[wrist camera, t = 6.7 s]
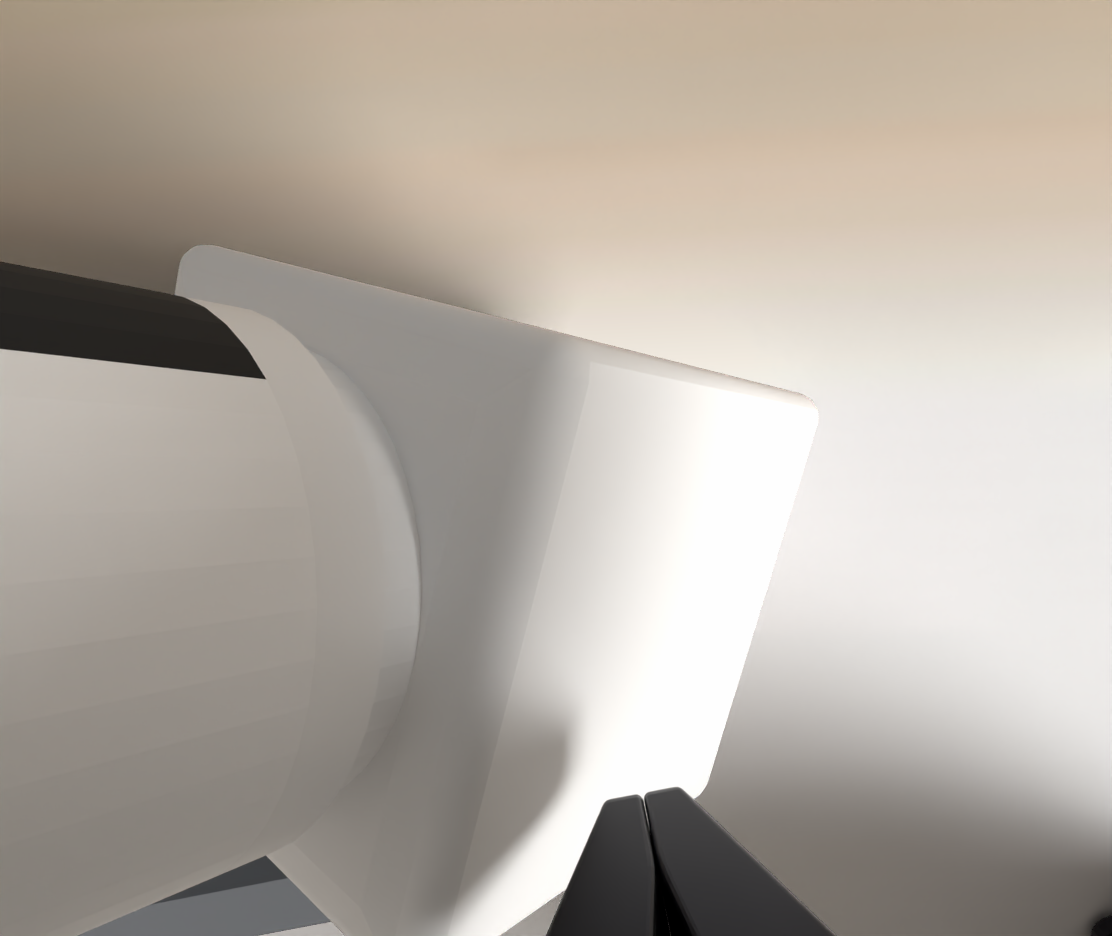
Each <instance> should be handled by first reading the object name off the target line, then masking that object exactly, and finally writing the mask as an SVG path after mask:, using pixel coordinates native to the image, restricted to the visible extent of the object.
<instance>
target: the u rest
mask: <svg viewBox="0 0 1112 936" xmlns="http://www.w3.org/2000/svg"><path fill="white" fill-rule="evenodd" d="M326 922H331V921H330V920H329V919H328V918H327V917H326V916H325V915H324V914H323V913H322V912H321V911H320V910H319V909H318V908H317V907H316V906H315V905H314V904H313V903H312V901H311V900H310V899H309V898H308V897H307V896H306V895H305V894H304V893H303V892H302V891H301V890H300V889H299V888H298V887H297V886H296V885H295V884H294V883H293V882H292V881H291V880H290V879H289V878H288V877H287V876H286V875H285V874H284V873H283V872H282V871H281V870H280V869H279V868H278V867H277V866H276V865H275V864H274V863H273V862H272V861H271V860H270V859H269V858H268V857H267V856H266V855H265V856H263V857H261V858H258V859H256V860H254V861H251V862H249V863H247V864H244V865H242V866H240V867H237V868H235V869H233V870H230V871H228V872H226V873H223V874H221V875H218V876H216V877H214V878H211V879H209V880H207V881H204V882H202V883H200V884H197V885H195V886H193V887H190V888H188V889H186V890H183V891H181V892H179V893H176V894H174V895H171V896H169V897H167V898H164V899H162V900H160V901H157V902H155V903H153V904H150V905H148V906H146V907H143V908H141V909H139V910H136V911H134V912H132V913H129V914H127V915H124V916H122V917H120V918H117V919H115V920H113V921H110V922H108V923H106V924H103V925H101V926H99V927H96V928H94V929H92V930H89V931H87V932H85V933H82V934H80V935H77V936H258V935H264V934H269V933H274V932H279V931H284V930H290V929H295V928H300V927H305V926H311V925H316V924H321V923H326Z"/></svg>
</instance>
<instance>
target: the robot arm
mask: <svg viewBox="0 0 1112 936" xmlns="http://www.w3.org/2000/svg"><path fill="white" fill-rule="evenodd" d="M644 804H645V806H644ZM645 809H646V810H645ZM646 814H647V815H646ZM647 819H648V820H647ZM648 824H649V825H648ZM649 829H650V830H649ZM670 934H671V935H670ZM546 936H837V935H836V934H835V933H834V932H833V931H832V930H831V929H830V928H828V927H827V926H826V925H825V924H824V923H823V922H822V921H821V920H820V919H819V918H818V917H817V916H816V915H815V914H814V913H813V912H812V911H811V910H810V909H808V908H807V907H806V906H805V905H804V904H803V903H802V902H801V901H800V900H799V899H798V898H797V897H796V896H795V895H794V894H793V893H792V892H791V891H790V890H788V889H787V888H786V887H785V886H784V885H783V884H782V883H781V882H780V881H779V880H778V879H777V878H776V877H775V876H774V875H773V874H772V873H771V872H770V871H768V870H767V869H766V868H765V867H764V866H763V865H762V864H761V863H760V862H759V861H758V860H757V859H756V858H755V857H754V856H753V855H752V854H751V853H750V852H749V851H747V850H746V849H745V848H744V847H743V846H742V845H741V844H740V843H739V842H738V841H737V840H736V839H735V838H734V837H733V836H732V835H731V834H730V833H729V832H727V831H726V830H725V829H724V828H723V827H722V826H721V825H720V824H719V823H718V822H717V821H716V820H715V819H714V818H713V817H712V816H711V815H710V814H709V813H707V812H706V811H705V810H704V809H703V808H702V807H701V806H700V805H699V804H698V803H697V802H696V801H695V800H694V799H693V798H692V797H691V796H690V795H689V794H687V793H686V792H685V791H684V790H683V789H682V788H680V787H671V788H665V789H660V790H655V791H650V792H647V793H646V794H645V796H644V801H643V798H642V797H641V796H640V795H638V794H634V795H628V796H623V797H618V798H612V799H609V800H606V801H605V802H604V804H603V806H602V808H601V810H600V812H599V815H598V817H597V819H596V822H595V824H594V826H593V828H592V831H591V833H590V835H589V838H588V840H587V842H586V845H585V847H584V849H583V851H582V854H581V856H580V858H579V861H578V863H577V865H576V868H575V870H574V872H573V874H572V877H571V879H570V881H569V884H568V886H567V888H566V891H565V893H564V895H563V897H562V900H561V902H560V904H559V907H558V909H557V911H556V914H555V916H554V918H553V920H552V923H551V925H550V927H549V930H548V932H547V934H546ZM1091 936H1112V916H1109V917H1106V918H1103V919H1102V920H1100V921H1099V922H1098V923H1096V925H1095V926H1094V927H1093V929H1092V933H1091Z"/></svg>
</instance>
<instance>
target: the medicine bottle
mask: <svg viewBox="0 0 1112 936" xmlns="http://www.w3.org/2000/svg"><path fill="white" fill-rule="evenodd" d="M817 424H818V410H817V408H816V406H815V404H814V403H813V401H812V400H811V399H810V398H808V397H806V396H805V395H803V394H800V393H796V392H792V391H789V390H785V389H781V388H777V387H773V386H769V385H765V384H761V383H757V382H753V381H749V380H745V379H741V378H737V377H733V376H729V375H725V374H721V373H718V372H714V371H710V370H706V369H702V368H698V367H694V366H690V365H686V364H682V363H678V362H674V361H670V360H666V359H662V358H658V357H654V356H650V355H647V354H643V353H639V352H635V351H631V350H627V349H623V348H619V347H615V346H611V345H607V344H603V343H599V342H595V341H591V340H587V339H583V338H580V337H576V336H572V335H568V334H564V333H560V332H556V331H552V330H548V329H544V328H540V327H536V326H532V325H528V324H524V323H520V322H516V321H512V320H509V319H505V318H501V317H497V316H493V315H489V314H485V313H481V312H477V311H473V310H469V309H465V308H461V307H457V306H453V305H449V304H445V303H441V302H437V301H433V300H429V299H425V298H421V297H418V296H414V295H410V294H406V293H402V292H398V291H394V290H390V289H386V288H382V287H378V286H374V285H370V284H366V283H362V282H358V281H354V280H350V279H346V278H342V277H338V276H334V275H330V274H327V273H323V272H319V271H315V270H311V269H307V268H303V267H299V266H295V265H291V264H287V263H283V262H279V261H275V260H271V259H267V258H263V257H259V256H255V255H251V254H247V253H243V252H239V251H236V250H232V249H228V248H224V247H220V246H216V245H198V246H194V247H192V248H191V249H190V250H189V251H187V252H186V253H185V254H184V255H183V257H182V258H181V261H180V264H179V270H178V276H177V282H176V288H175V294H174V295H172V294H166V293H161V292H156V291H151V290H145V289H140V288H135V287H130V286H124V285H119V284H114V283H109V282H104V281H98V280H93V279H88V278H83V277H77V276H72V275H67V274H62V273H56V272H51V271H46V270H41V269H35V268H30V267H25V266H20V265H15V264H9V263H4V262H0V936H77V935H80V934H82V933H85V932H87V931H89V930H92V929H94V928H96V927H99V926H101V925H103V924H106V923H108V922H110V921H113V920H115V919H117V918H120V917H122V916H124V915H127V914H129V913H132V912H134V911H136V910H139V909H141V908H143V907H146V906H148V905H150V904H153V903H155V902H157V901H160V900H162V899H164V898H167V897H169V896H171V895H174V894H176V893H179V892H181V891H183V890H186V889H188V888H190V887H193V886H195V885H197V884H200V883H202V882H204V881H207V880H209V879H211V878H214V877H216V876H218V875H221V874H223V873H226V872H228V871H230V870H233V869H235V868H237V867H240V866H242V865H244V864H247V863H249V862H251V861H254V860H256V859H258V858H261V857H263V856H265V855H266V856H267V857H268V858H269V859H270V860H271V861H272V862H273V863H274V864H275V865H276V866H277V867H278V868H279V869H280V870H281V871H282V872H283V873H284V874H285V875H286V876H287V877H288V878H289V879H290V880H291V881H292V882H293V883H294V884H295V885H296V886H297V887H298V888H299V889H300V890H301V891H302V892H303V893H304V894H305V895H306V896H307V897H308V898H309V899H310V900H311V901H312V903H313V904H314V905H315V906H316V907H317V908H318V909H319V910H320V911H321V912H322V913H323V914H324V915H325V916H326V917H327V918H328V919H329V920H330V921H331V922H332V923H333V924H334V925H335V926H336V927H337V928H338V929H339V930H340V931H341V932H342V933H343V934H344V935H345V936H500V935H502V934H503V933H504V932H506V931H507V930H509V929H510V928H511V927H513V926H514V925H516V924H517V923H519V922H520V921H521V920H523V919H524V918H526V917H527V916H529V915H530V914H531V913H533V912H534V911H536V910H537V909H538V908H540V907H541V906H543V905H544V904H546V903H547V902H548V901H550V900H551V899H553V898H554V897H556V896H557V895H558V894H560V893H561V892H563V891H564V890H565V889H566V888H567V886H568V884H569V881H570V879H571V877H572V874H573V872H574V870H575V868H576V865H577V863H578V861H579V858H580V856H581V854H582V851H583V849H584V847H585V845H586V842H587V840H588V838H589V835H590V833H591V831H592V828H593V826H594V824H595V822H596V819H597V817H598V815H599V812H600V810H601V808H602V806H603V804H604V802H605V801H606V800H609V799H612V798H618V797H623V796H628V795H634V794H638V795H640V796H641V797H642V798H643V801H644V796H645V794H646V793H647V792H650V791H655V790H660V789H665V788H671V787H680V788H682V789H683V790H684V791H685V792H686V793H687V794H689V795H690V796H691V797H692V798H693V799H695V798H696V797H698V796H699V795H700V794H701V793H702V791H703V790H704V788H705V787H706V785H707V783H708V781H709V777H710V774H711V771H712V768H713V764H714V761H715V758H716V754H717V751H718V748H719V745H720V741H721V738H722V735H723V732H724V728H725V725H726V722H727V719H728V715H729V712H730V709H731V705H732V702H733V699H734V696H735V692H736V689H737V686H738V683H739V679H740V676H741V673H742V669H743V666H744V663H745V660H746V656H747V653H748V650H749V647H750V643H751V640H752V637H753V634H754V630H755V627H756V624H757V620H758V617H759V614H760V611H761V607H762V604H763V601H764V598H765V594H766V591H767V588H768V585H769V581H770V578H771V575H772V571H773V568H774V565H775V562H776V558H777V555H778V552H779V549H780V545H781V542H782V539H783V536H784V532H785V529H786V526H787V522H788V519H789V516H790V513H791V509H792V506H793V503H794V500H795V496H796V493H797V490H798V487H799V483H800V480H801V477H802V473H803V470H804V467H805V464H806V460H807V457H808V454H809V451H810V447H811V444H812V441H813V438H814V434H815V431H816V428H817ZM644 806H645V804H644ZM645 810H646V809H645ZM646 815H647V814H646ZM647 820H648V819H647ZM648 825H649V824H648ZM649 830H650V829H649Z"/></svg>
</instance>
